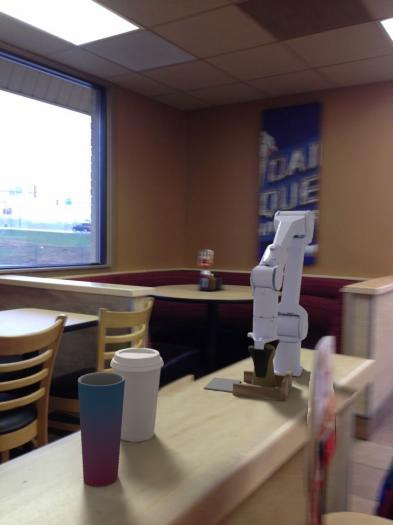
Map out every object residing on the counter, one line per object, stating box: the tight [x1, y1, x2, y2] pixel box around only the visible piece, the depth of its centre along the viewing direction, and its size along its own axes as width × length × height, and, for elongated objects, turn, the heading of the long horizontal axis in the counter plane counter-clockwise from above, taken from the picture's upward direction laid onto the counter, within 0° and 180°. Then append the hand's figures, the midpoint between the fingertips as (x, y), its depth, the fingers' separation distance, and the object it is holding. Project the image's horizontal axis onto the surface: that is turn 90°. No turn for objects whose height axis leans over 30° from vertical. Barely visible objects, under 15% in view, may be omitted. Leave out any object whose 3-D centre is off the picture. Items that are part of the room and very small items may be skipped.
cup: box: [77, 371, 125, 488], centre depth 70 cm, size 7×7×15 cm
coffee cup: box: [110, 347, 165, 443], centre depth 85 cm, size 10×10×15 cm
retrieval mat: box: [203, 376, 242, 393], centre depth 116 cm, size 9×7×1 cm
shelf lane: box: [232, 369, 293, 402], centre depth 112 cm, size 12×12×4 cm
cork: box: [250, 344, 277, 388], centre depth 112 cm, size 6×6×11 cm
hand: (263, 372), depth 112 cm, fingers open, 7 cm apart
